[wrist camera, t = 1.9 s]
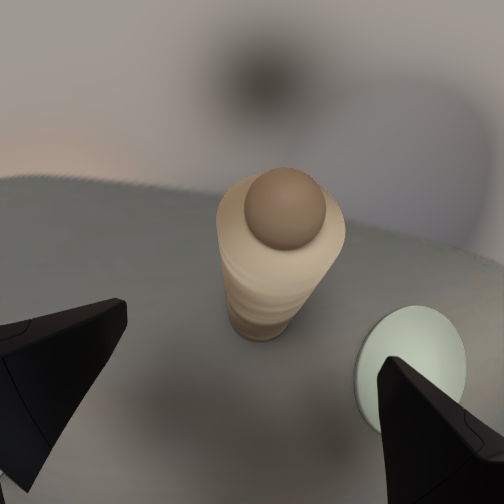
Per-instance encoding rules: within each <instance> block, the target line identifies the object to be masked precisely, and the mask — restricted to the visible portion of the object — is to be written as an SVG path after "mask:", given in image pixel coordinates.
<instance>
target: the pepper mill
mask: <svg viewBox="0 0 504 504" xmlns="http://www.w3.org/2000/svg"><path fill="white" fill-rule="evenodd" d="M216 225H217V233H218V241H219V249H220V256H221V264H222V271H223V279H224V286H225V293H226V300H227V307H228V313H229V319H230V323H231V325H232V327H233V328H234V330H235V331H236V332H237V333H238V334H239V335H240V336H242V337H243V338H245V339H247V340H250V341H253V342H266V341H269V340H272V339H274V338H276V337H277V336H279V335H280V334H281V333H282V332H283V331H284V329H285V328H286V327H287V325H288V324H289V323H290V322H291V320H292V319H293V318H294V316H295V315H296V314H297V312H298V311H299V310H300V308H301V307H302V306H303V304H304V303H305V302H306V300H307V299H308V297H309V296H310V295H311V293H312V292H313V291H314V289H315V288H316V286H317V285H318V284H319V282H320V281H321V279H322V278H323V277H324V275H325V274H326V272H327V271H328V269H329V268H330V267H331V265H332V264H333V262H334V261H335V259H336V258H337V256H338V255H339V253H340V251H341V249H342V246H343V243H344V238H345V223H344V219H343V215H342V212H341V210H340V208H339V206H338V204H337V203H336V201H335V200H334V199H333V197H332V196H331V195H330V194H329V193H328V192H327V191H326V190H325V189H324V188H322V187H321V186H320V185H318V184H317V183H316V181H314V179H313V178H311V177H310V176H309V175H307V174H306V173H304V172H302V171H300V170H297V169H293V168H277V169H273V170H270V171H267V172H262V173H257V174H254V175H251V176H248V177H246V178H244V179H242V180H240V181H239V182H237V183H236V184H235V185H233V186H232V187H231V188H230V189H229V190H228V191H227V193H226V194H225V195H224V197H223V199H222V200H221V202H220V205H219V208H218V211H217V218H216Z"/></svg>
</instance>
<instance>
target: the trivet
mask: <svg viewBox="0 0 504 504" xmlns="http://www.w3.org/2000/svg"><path fill="white" fill-rule="evenodd" d="M388 356H398V357H400V358H401V359H403V360H404V361H405V362H406V363H408V364H409V365H410V366H411V367H413V368H414V369H415V370H417V371H418V372H419V373H420V374H422V375H423V376H424V377H425V378H427V379H428V380H429V381H430V382H432V383H433V384H434V385H436V386H437V387H438V388H439V389H441V390H442V391H443V392H444V393H446V394H447V395H448V396H449V397H451V398H452V399H453V400H454V401H456V402H457V403H459V401H460V398H461V395H462V392H463V389H464V385H465V379H466V356H465V351H464V347H463V344H462V341H461V338H460V336H459V334H458V332H457V330H456V329H455V327H454V326H453V325H452V323H451V322H450V321H449V320H448V319H447V318H446V317H445V316H444V315H442V314H441V313H439V312H438V311H436V310H434V309H431V308H428V307H424V306H409V307H405V308H402V309H399V310H397V311H395V312H393V313H391V314H390V315H388V316H386V317H385V318H383V319H382V320H381V321H380V322H378V323H377V324H376V325H375V326H374V328H373V329H372V330H371V331H370V332H369V334H368V335H367V337H366V338H365V340H364V342H363V344H362V346H361V348H360V351H359V354H358V357H357V361H356V364H355V371H354V391H355V397H356V401H357V404H358V407H359V410H360V412H361V414H362V416H363V418H364V419H365V420H366V422H367V423H368V424H369V425H370V426H371V427H372V428H373V429H374V430H375V431H377V432H378V433H380V434H381V428H380V422H379V412H378V393H377V375H378V372H379V371H380V369H381V367H382V365H383V363H384V361H385V359H386V358H387V357H388Z"/></svg>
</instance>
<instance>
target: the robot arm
mask: <svg viewBox="0 0 504 504" xmlns="http://www.w3.org/2000/svg"><path fill="white" fill-rule="evenodd" d="M127 322H128V320H127V304H126V302H125V301H124V300H121V299H118V298H112V299H108V300H104V301H101V302H97V303H93V304H89V305H85V306H81V307H77V308H73V309H69V310H65V311H61V312H57V313H53V314H49V315H45V316H41V317H37V318H33V319H32V320H31V319H28V320H24V321H20V322H16V323H11V324H6V325H0V478H1V477H2V475H3V474H5V475H6V476H7V477H8V478H9V479H11V480H12V481H13V482H14V483H15V484H16V485H18V486H19V487H20V488H21V489H22V490H24V491H25V492H26V493H28V492H29V490H30V489H31V487H32V485H33V483H34V481H35V479H36V477H37V475H38V474H39V472H40V470H41V468H42V466H43V465H44V463H45V461H46V459H47V457H48V456H49V454H50V452H51V450H52V448H53V447H54V445H55V443H56V442H57V440H58V438H59V437H60V435H61V433H62V432H63V430H64V428H65V427H66V425H67V423H68V422H69V420H70V419H71V417H72V415H73V414H74V412H75V411H76V409H77V407H78V406H79V404H80V403H81V401H82V400H83V398H84V396H85V395H86V393H87V392H88V390H89V389H90V387H91V386H92V384H93V383H94V381H95V380H96V378H97V377H98V375H99V374H100V372H101V371H102V369H103V368H104V366H105V365H106V363H107V362H108V360H109V358H110V357H111V355H112V353H113V351H114V349H115V347H116V345H117V344H118V342H119V340H120V338H121V336H122V334H123V332H124V331H125V329H126V326H127ZM377 393H378V412H379V422H380V428H381V436H382V443H383V451H384V460H385V470H386V482H387V497H388V504H504V437H503V436H501V435H500V434H499V433H497V432H496V431H494V430H493V429H491V428H490V427H488V426H487V425H485V424H484V423H483V422H481V421H480V420H479V419H477V418H476V417H475V416H473V415H472V414H471V413H470V412H468V411H467V410H466V409H464V408H463V407H462V406H461V405H459V404H458V403H457V402H456V401H454V400H453V399H452V398H451V397H449V396H448V395H447V394H446V393H444V392H443V391H442V390H441V389H439V388H438V387H437V386H436V385H434V384H433V383H432V382H430V381H429V380H428V379H427V378H425V377H424V376H423V375H422V374H420V373H419V372H418V371H417V370H415V369H414V368H413V367H411V366H410V365H409V364H408V363H406V362H405V361H404V360H403V359H401V358H400V357H398V356H388V357H387V358H386V359H385V361H384V363H383V365H382V367H381V369H380V371H379V372H378V375H377ZM0 504H5V501H4V497H3V493H2V488H1V484H0Z"/></svg>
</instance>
